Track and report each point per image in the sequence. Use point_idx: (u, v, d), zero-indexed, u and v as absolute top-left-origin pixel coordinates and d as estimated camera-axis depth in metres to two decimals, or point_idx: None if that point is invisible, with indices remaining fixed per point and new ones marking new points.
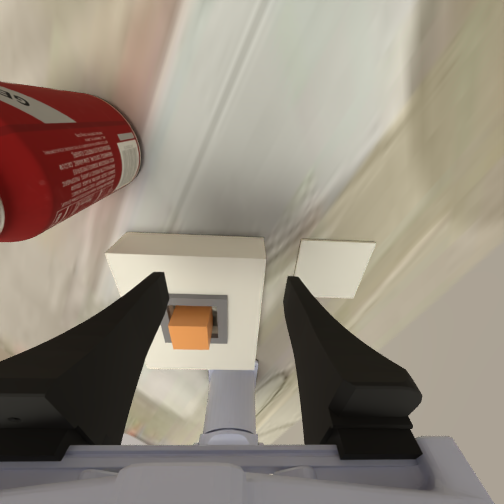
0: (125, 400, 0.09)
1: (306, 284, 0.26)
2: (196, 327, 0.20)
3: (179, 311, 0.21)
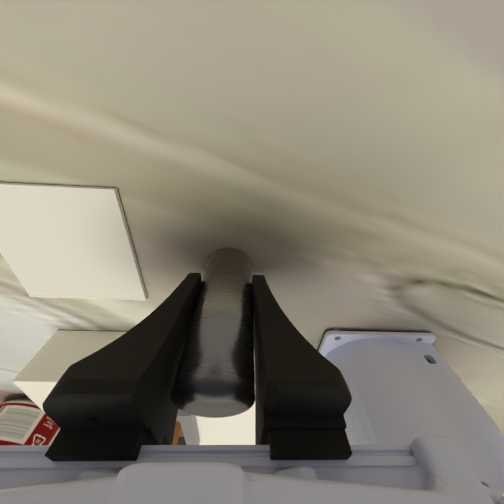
0: None
1: (110, 281, 0.14)
2: None
3: None
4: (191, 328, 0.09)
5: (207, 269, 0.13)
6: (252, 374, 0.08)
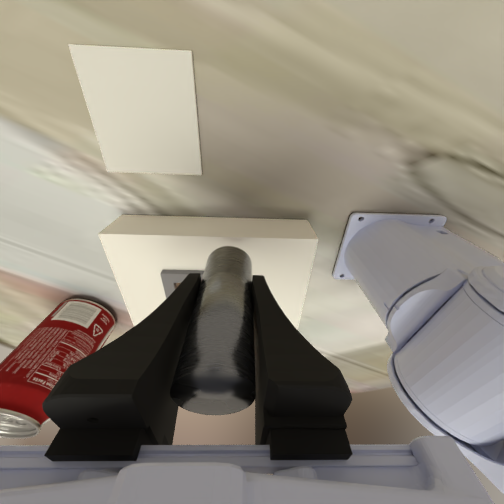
0: None
1: (175, 153, 0.18)
2: None
3: None
4: (192, 323, 0.09)
5: (208, 266, 0.12)
6: (253, 371, 0.08)
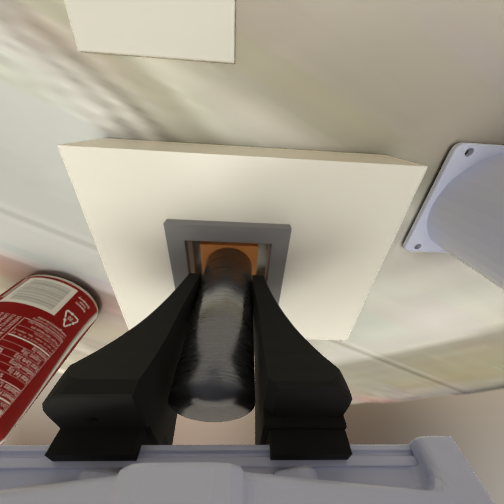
0: None
1: (193, 14, 0.10)
2: (203, 257, 0.14)
3: None
4: (191, 328, 0.09)
5: (207, 268, 0.12)
6: (253, 379, 0.08)
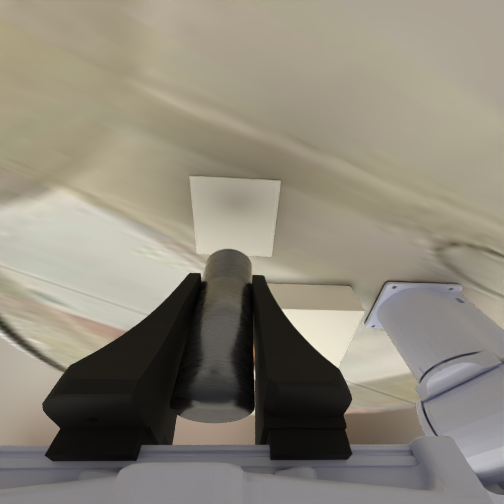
0: None
1: (254, 242, 0.22)
2: None
3: None
4: (191, 333, 0.09)
5: (207, 270, 0.12)
6: (252, 382, 0.08)
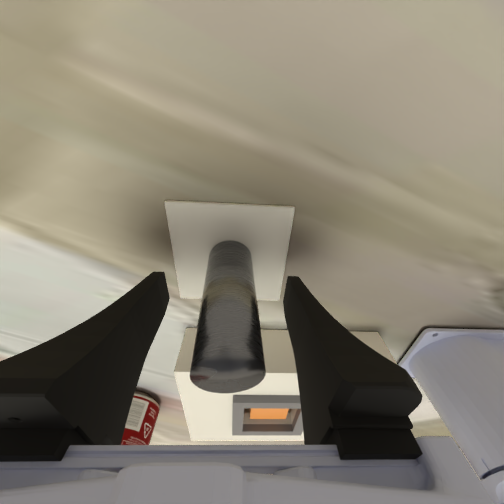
0: (125, 400, 0.09)
1: (256, 284, 0.17)
2: None
3: None
4: (203, 313, 0.10)
5: (211, 260, 0.13)
6: (262, 352, 0.09)
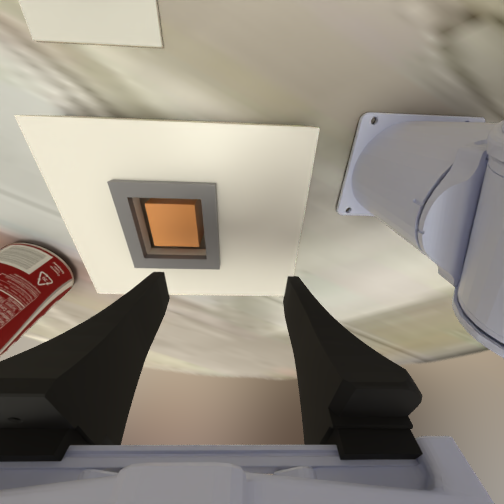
0: (125, 400, 0.09)
1: (122, 7, 0.13)
2: (149, 216, 0.16)
3: None
4: None
5: None
6: None
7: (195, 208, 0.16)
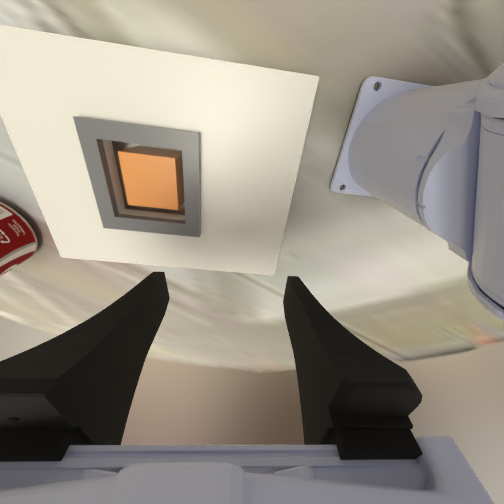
0: (125, 400, 0.09)
1: None
2: (123, 167, 0.14)
3: None
4: None
5: None
6: None
7: (176, 163, 0.14)
